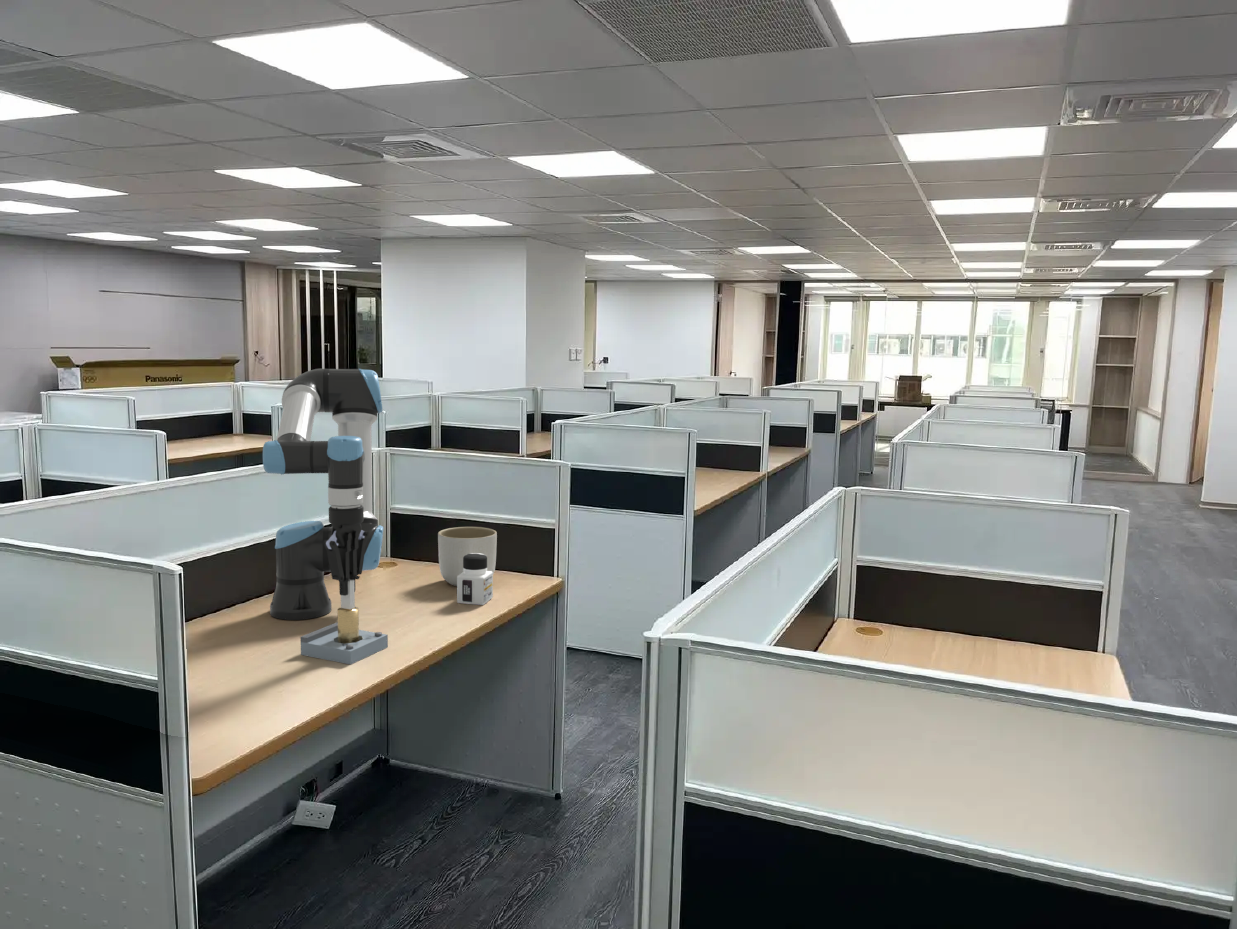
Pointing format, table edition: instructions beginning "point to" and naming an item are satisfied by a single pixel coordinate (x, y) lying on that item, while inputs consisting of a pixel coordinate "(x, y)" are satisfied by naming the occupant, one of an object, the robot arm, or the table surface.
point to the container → (475, 580)
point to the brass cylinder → (348, 625)
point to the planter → (464, 549)
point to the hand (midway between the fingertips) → (347, 607)
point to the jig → (341, 645)
